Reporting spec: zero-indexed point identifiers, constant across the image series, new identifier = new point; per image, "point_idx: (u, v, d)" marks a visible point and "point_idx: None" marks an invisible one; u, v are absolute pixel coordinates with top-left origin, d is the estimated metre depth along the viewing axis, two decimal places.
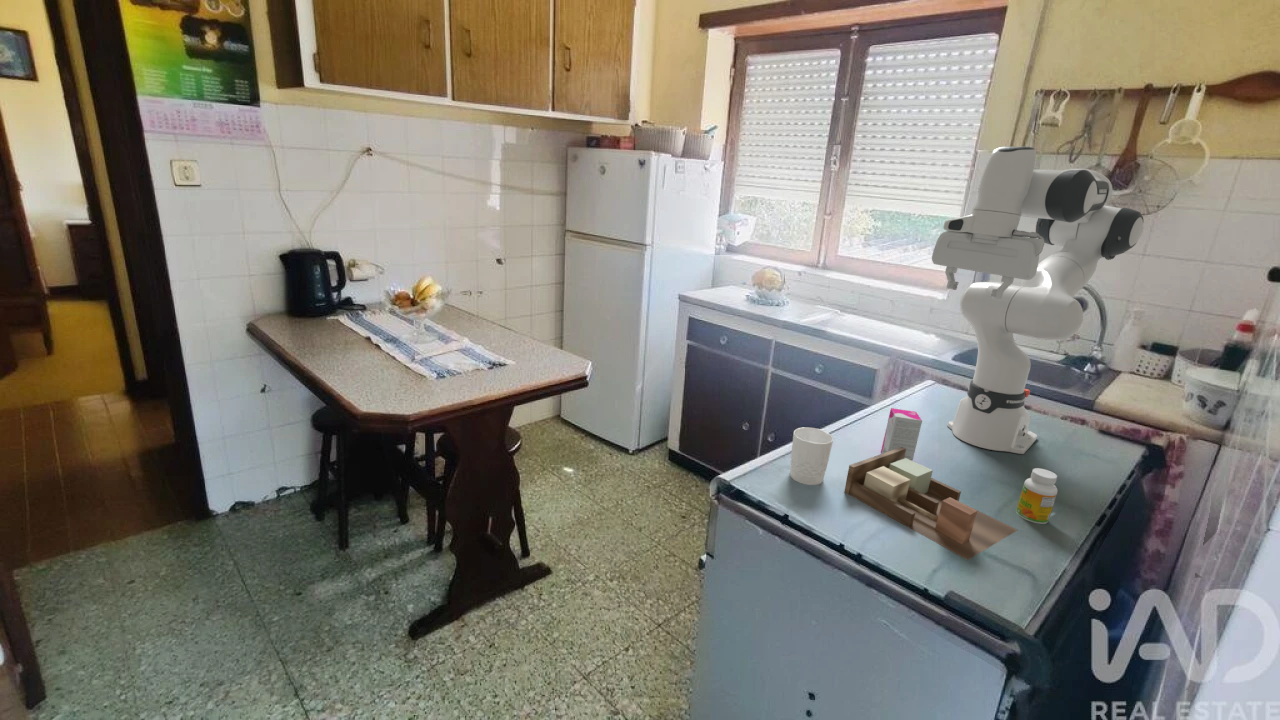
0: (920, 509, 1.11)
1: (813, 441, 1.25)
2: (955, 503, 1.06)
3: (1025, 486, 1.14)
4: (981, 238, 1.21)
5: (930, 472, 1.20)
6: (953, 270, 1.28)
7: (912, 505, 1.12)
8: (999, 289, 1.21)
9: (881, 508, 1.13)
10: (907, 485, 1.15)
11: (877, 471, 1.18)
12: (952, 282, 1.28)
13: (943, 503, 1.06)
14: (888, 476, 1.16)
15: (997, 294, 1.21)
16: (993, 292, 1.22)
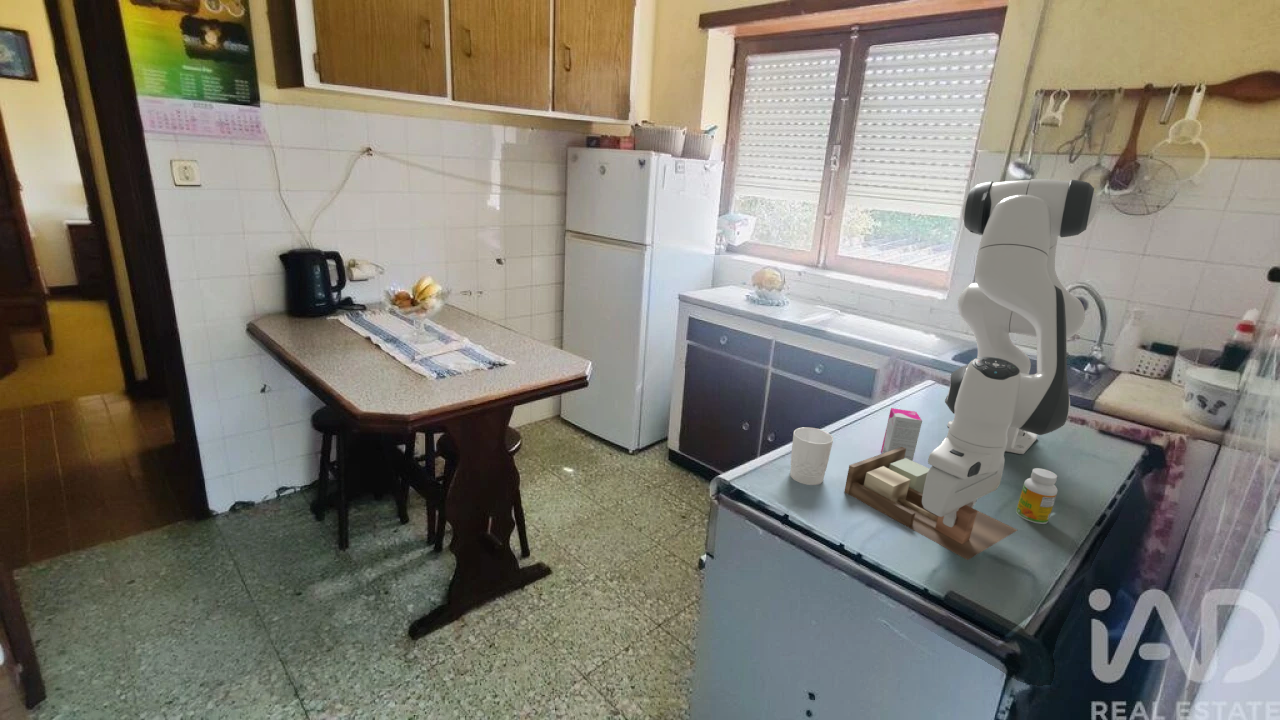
0: (920, 509, 1.11)
1: (813, 441, 1.25)
2: None
3: (1025, 486, 1.14)
4: (986, 472, 1.00)
5: None
6: None
7: (912, 505, 1.12)
8: None
9: (881, 508, 1.13)
10: (907, 485, 1.15)
11: (877, 471, 1.18)
12: (956, 519, 1.04)
13: None
14: (888, 476, 1.16)
15: None
16: None
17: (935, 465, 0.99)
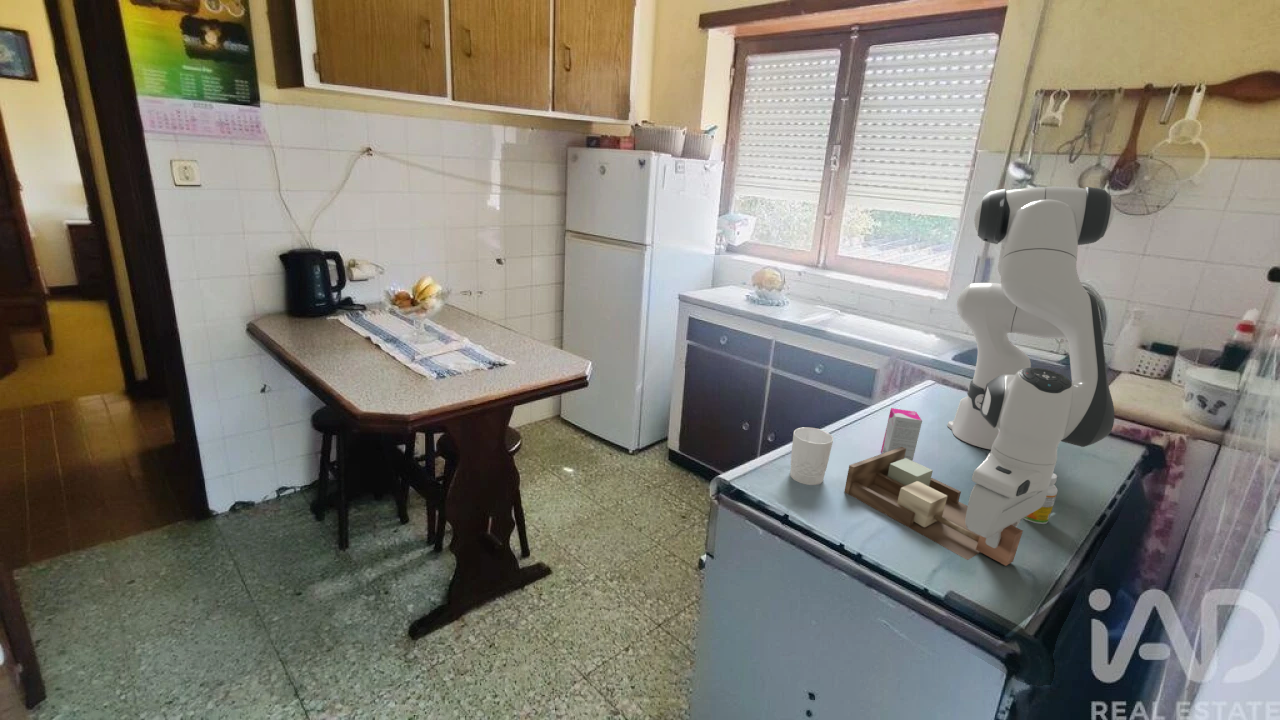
0: (959, 527, 1.05)
1: (813, 441, 1.25)
2: None
3: None
4: (1034, 490, 0.94)
5: (930, 472, 1.20)
6: None
7: (950, 523, 1.06)
8: None
9: (881, 508, 1.13)
10: (944, 501, 1.10)
11: (911, 486, 1.12)
12: (1001, 539, 0.98)
13: None
14: (924, 492, 1.10)
15: None
16: None
17: (980, 483, 0.93)
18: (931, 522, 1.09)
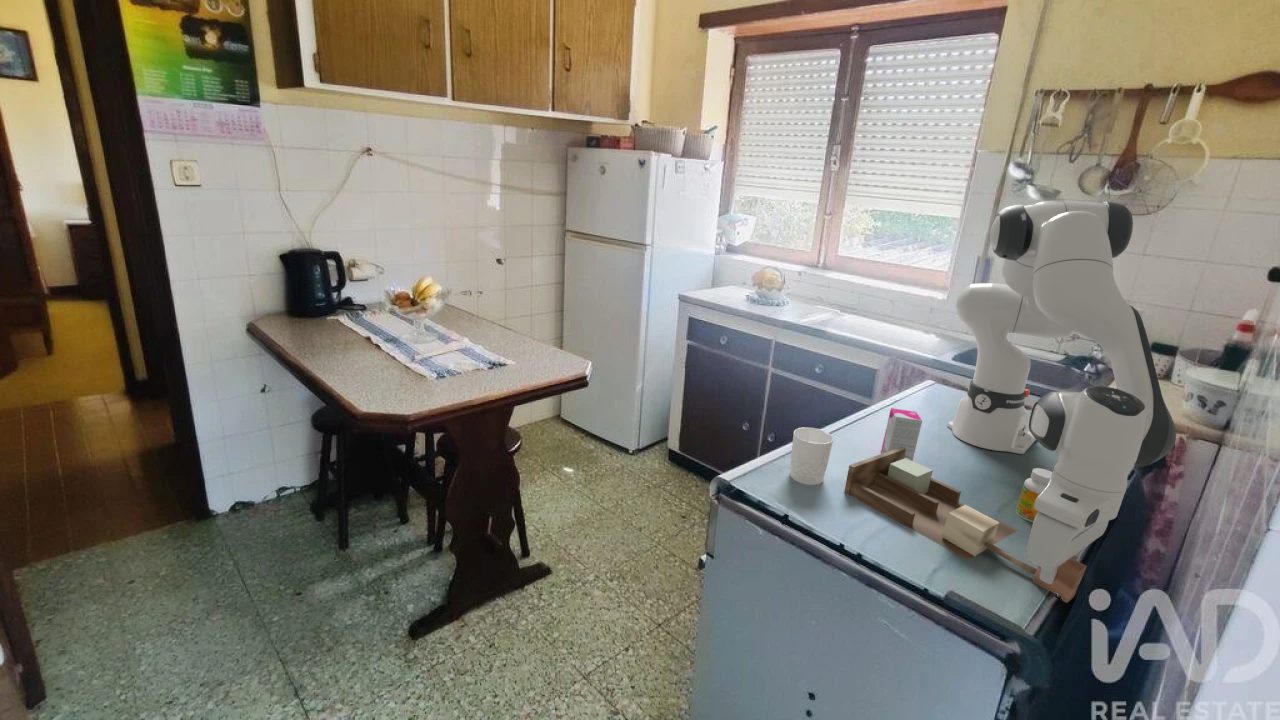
0: (1013, 558, 0.98)
1: (813, 441, 1.25)
2: None
3: (1025, 486, 1.14)
4: None
5: (930, 472, 1.20)
6: None
7: (1003, 553, 0.99)
8: (1079, 556, 0.94)
9: (881, 508, 1.13)
10: (995, 528, 1.03)
11: (960, 511, 1.05)
12: (1056, 574, 0.90)
13: None
14: (974, 518, 1.03)
15: None
16: None
17: (1044, 512, 0.86)
18: (981, 550, 1.02)
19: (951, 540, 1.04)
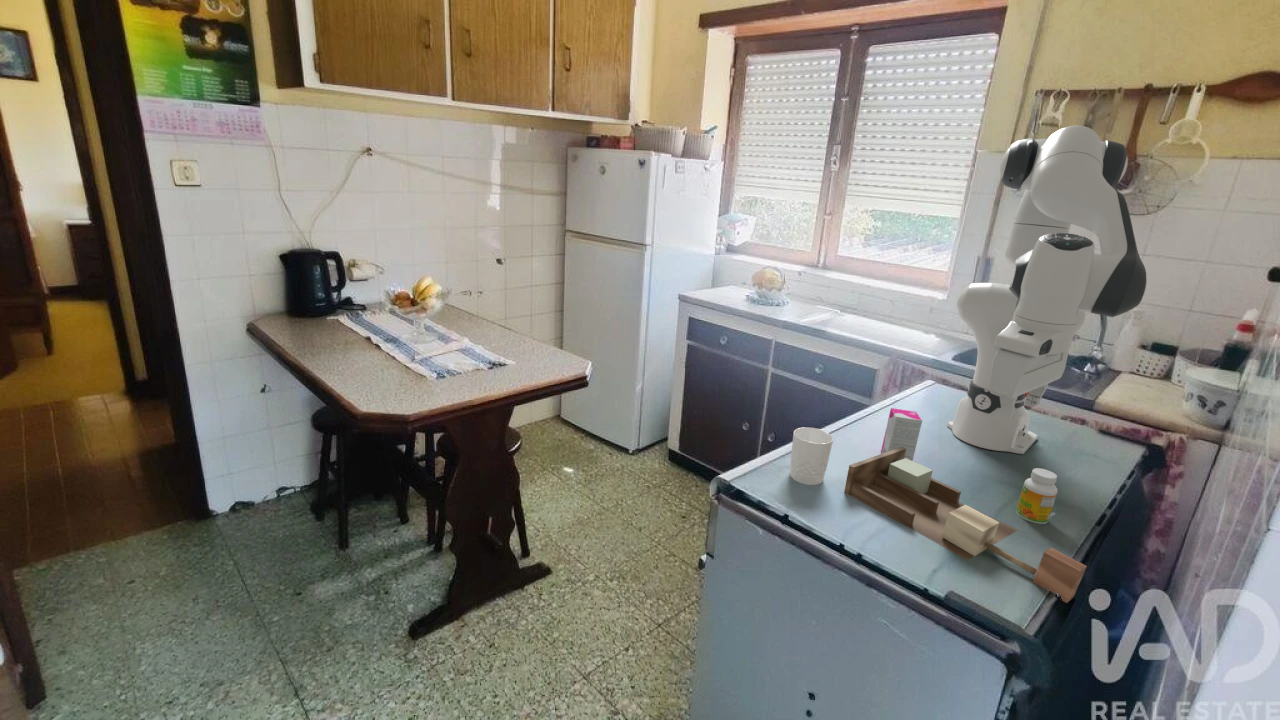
0: (1013, 558, 0.98)
1: (813, 441, 1.25)
2: (1059, 555, 0.93)
3: (1025, 486, 1.14)
4: (1055, 354, 0.97)
5: (930, 472, 1.20)
6: None
7: (1003, 553, 0.99)
8: (1041, 396, 1.05)
9: (881, 508, 1.13)
10: (995, 528, 1.03)
11: (960, 511, 1.05)
12: (1014, 409, 0.99)
13: (1045, 555, 0.93)
14: (974, 518, 1.03)
15: (1039, 401, 1.05)
16: (1037, 401, 1.04)
17: (1003, 346, 0.95)
18: (981, 550, 1.02)
19: (951, 540, 1.04)
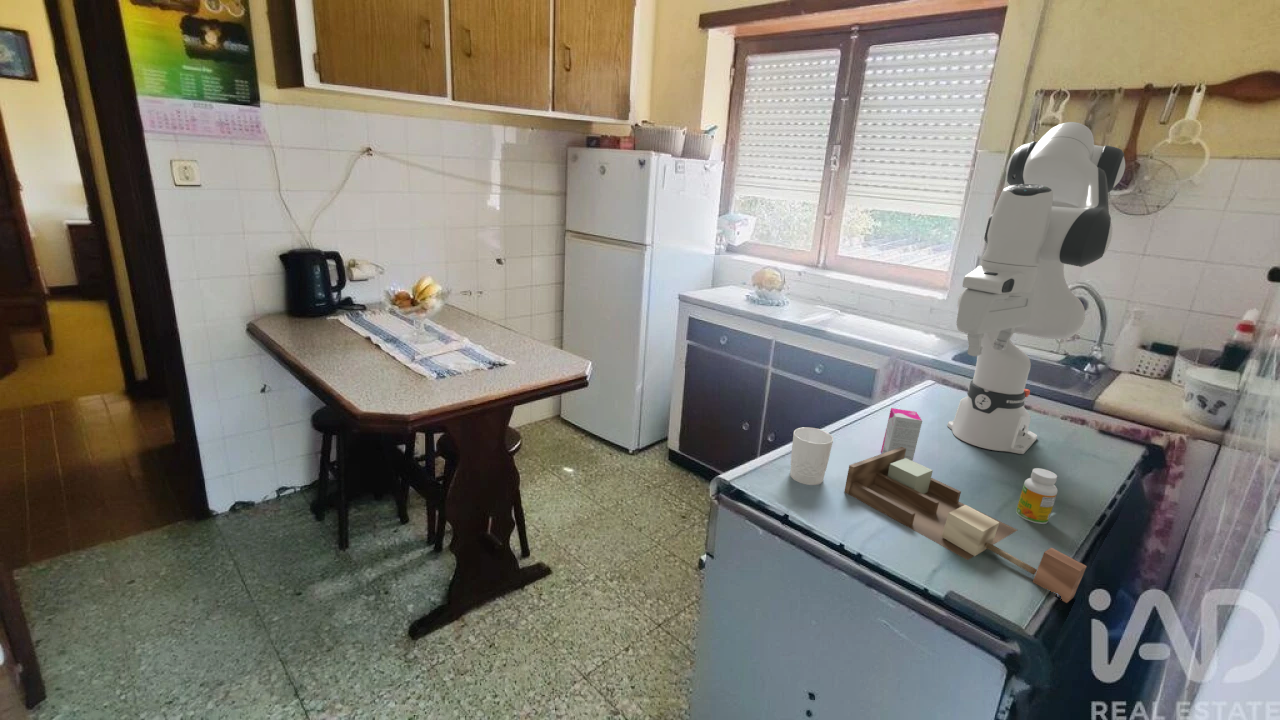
0: (1013, 558, 0.98)
1: (813, 441, 1.25)
2: (1059, 555, 0.93)
3: (1025, 486, 1.14)
4: (1018, 296, 1.05)
5: (930, 472, 1.20)
6: None
7: (1003, 553, 0.99)
8: (1007, 340, 1.12)
9: (881, 508, 1.13)
10: (995, 528, 1.03)
11: (960, 511, 1.05)
12: (981, 348, 1.07)
13: (1045, 555, 0.93)
14: (974, 518, 1.03)
15: (1006, 346, 1.12)
16: (1004, 345, 1.12)
17: (970, 286, 1.03)
18: (981, 550, 1.02)
19: (951, 540, 1.04)
